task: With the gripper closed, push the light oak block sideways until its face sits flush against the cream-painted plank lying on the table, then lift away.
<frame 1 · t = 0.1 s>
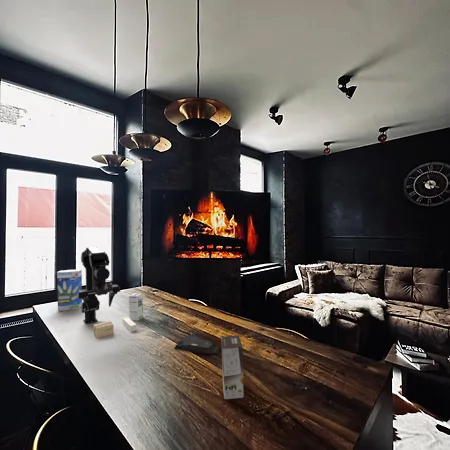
hand: (99, 308, 128), 14 cm above the table, fingers open, 9 cm apart
syrup box: (136, 319, 153), on the table
string lights box: (70, 308, 176), on the table
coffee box: (232, 390, 85), on the table
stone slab: (198, 348, 116), on the table
oak block: (103, 334, 133), on the table
plank: (129, 326, 141), on the table
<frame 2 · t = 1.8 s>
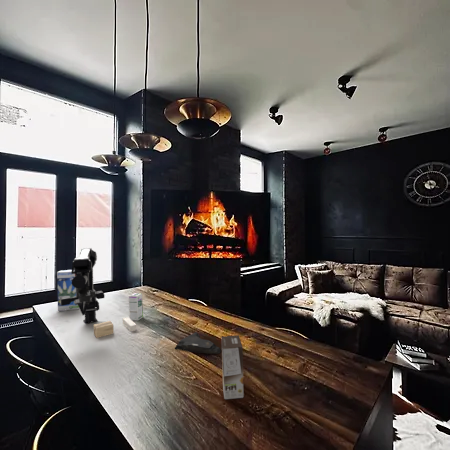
hand: (83, 315, 127), 12 cm above the table, fingers closed
nothing on the table moved.
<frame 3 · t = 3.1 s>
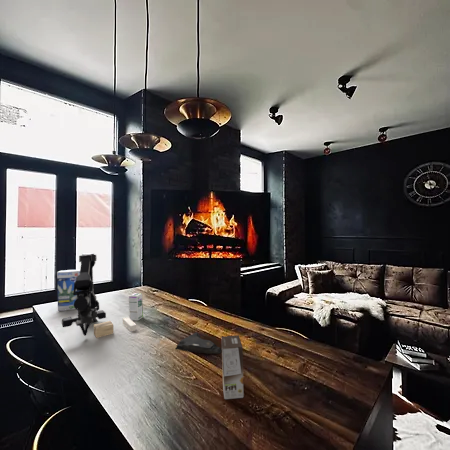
hand: (84, 335, 128), 1 cm above the table, fingers closed
nothing on the table moved.
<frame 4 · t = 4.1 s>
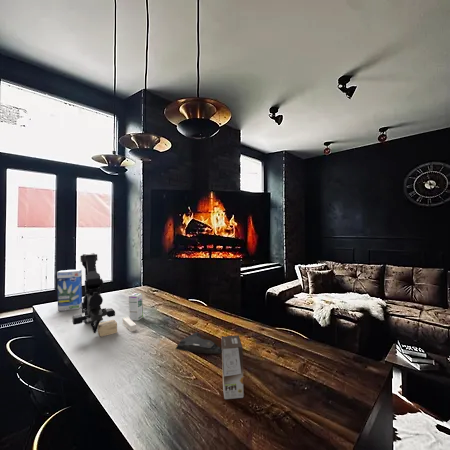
hand: (94, 332, 130), 2 cm above the table, fingers closed
oak block: (107, 332, 134), on the table, touching gripper
everything else where it was.
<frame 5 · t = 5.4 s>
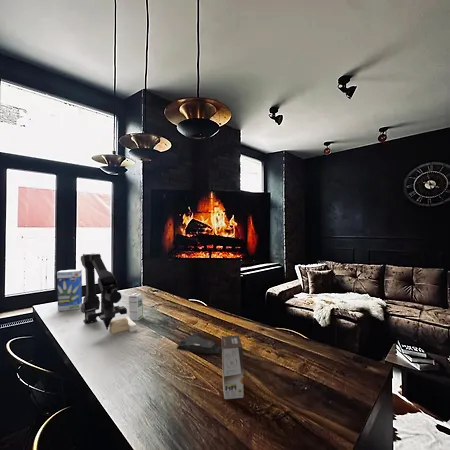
hand: (107, 329, 134), 2 cm above the table, fingers closed
oak block: (119, 329, 137), on the table, touching gripper, plank
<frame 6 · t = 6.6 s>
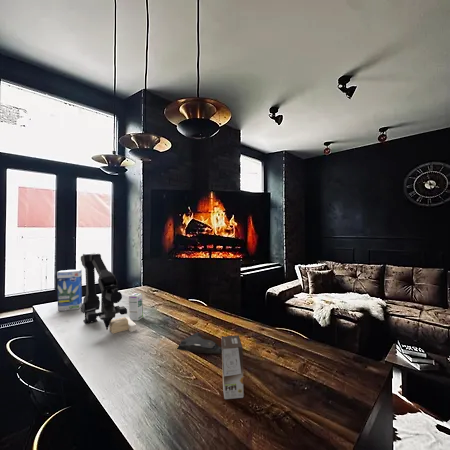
hand: (107, 329, 134), 2 cm above the table, fingers closed
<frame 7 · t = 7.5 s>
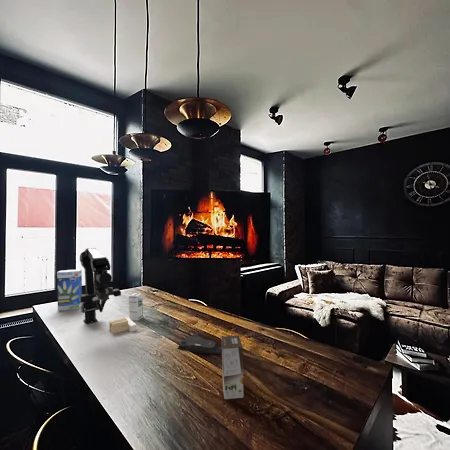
hand: (101, 312, 132), 11 cm above the table, fingers closed
oak block: (118, 330, 137), on the table
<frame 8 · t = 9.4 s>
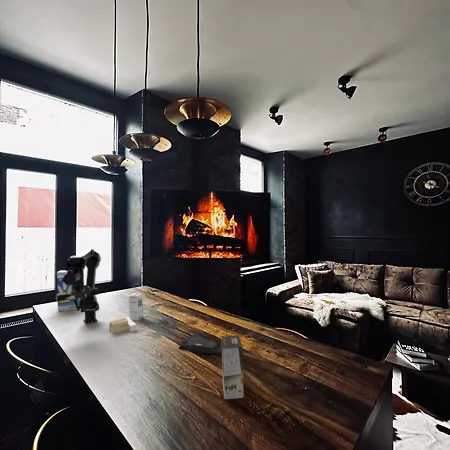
hand: (78, 310, 133), 12 cm above the table, fingers closed
at the end: oak block inside the target area on the table beside the plank (0.1 cm from its centre), on the table; oak block tilted 0° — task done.
